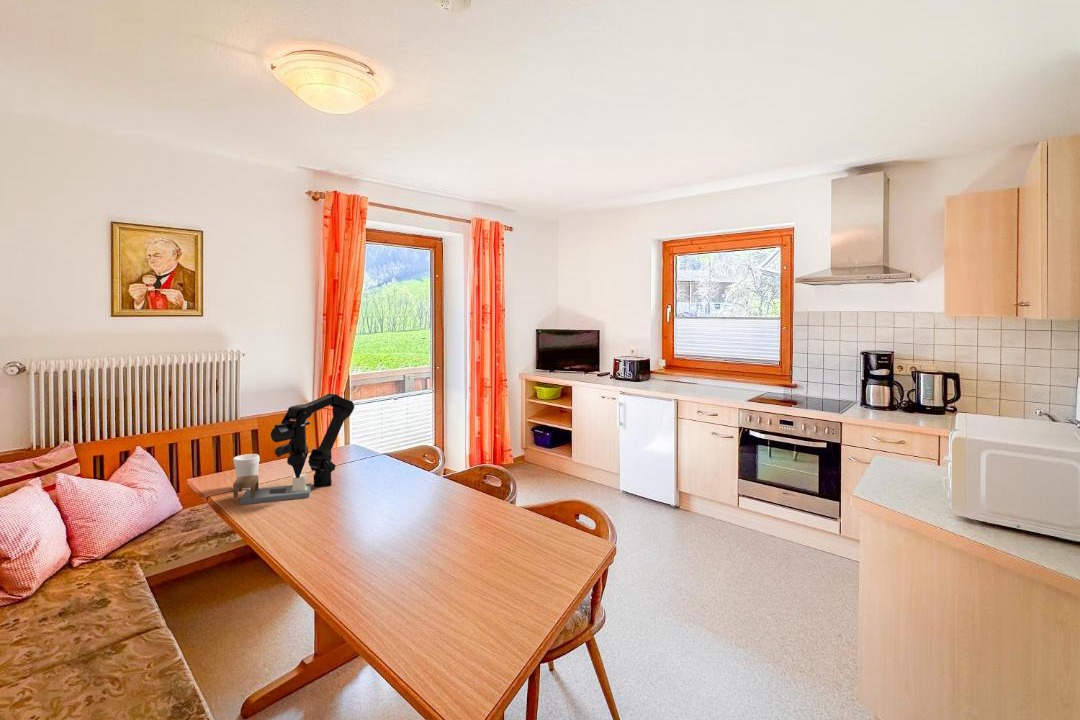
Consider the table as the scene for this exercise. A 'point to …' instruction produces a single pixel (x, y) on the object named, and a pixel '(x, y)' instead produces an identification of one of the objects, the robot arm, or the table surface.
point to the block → (299, 482)
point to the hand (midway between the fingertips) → (298, 474)
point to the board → (275, 494)
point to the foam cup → (246, 465)
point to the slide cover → (245, 485)
